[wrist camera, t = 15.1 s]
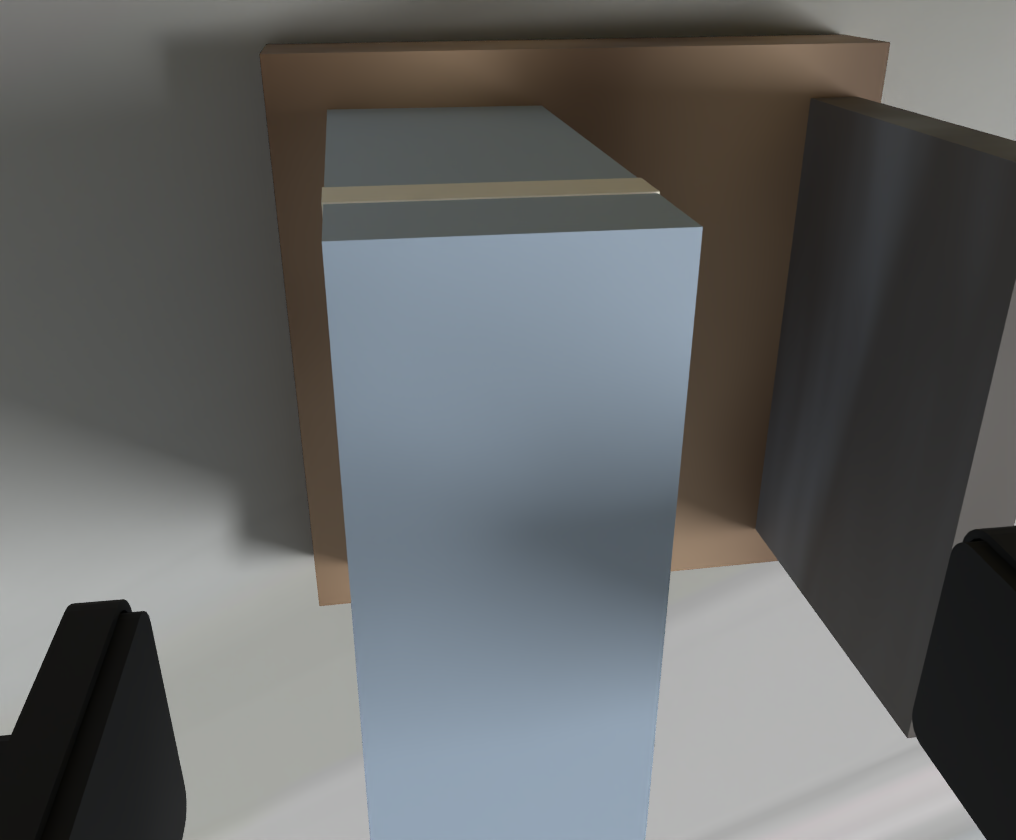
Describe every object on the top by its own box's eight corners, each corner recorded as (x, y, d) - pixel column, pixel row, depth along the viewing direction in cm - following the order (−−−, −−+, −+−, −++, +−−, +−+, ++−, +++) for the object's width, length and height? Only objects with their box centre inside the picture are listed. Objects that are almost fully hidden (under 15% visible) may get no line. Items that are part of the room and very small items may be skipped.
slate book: (542, 104, 18) (705, 224, 10) (534, 550, 23) (642, 877, 15) (326, 108, 18) (319, 239, 10) (360, 565, 22) (374, 915, 14)
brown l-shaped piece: (842, 34, 21) (1164, 88, 13) (775, 516, 26) (973, 769, 18) (266, 44, 19) (217, 113, 11) (320, 557, 24) (314, 858, 16)
